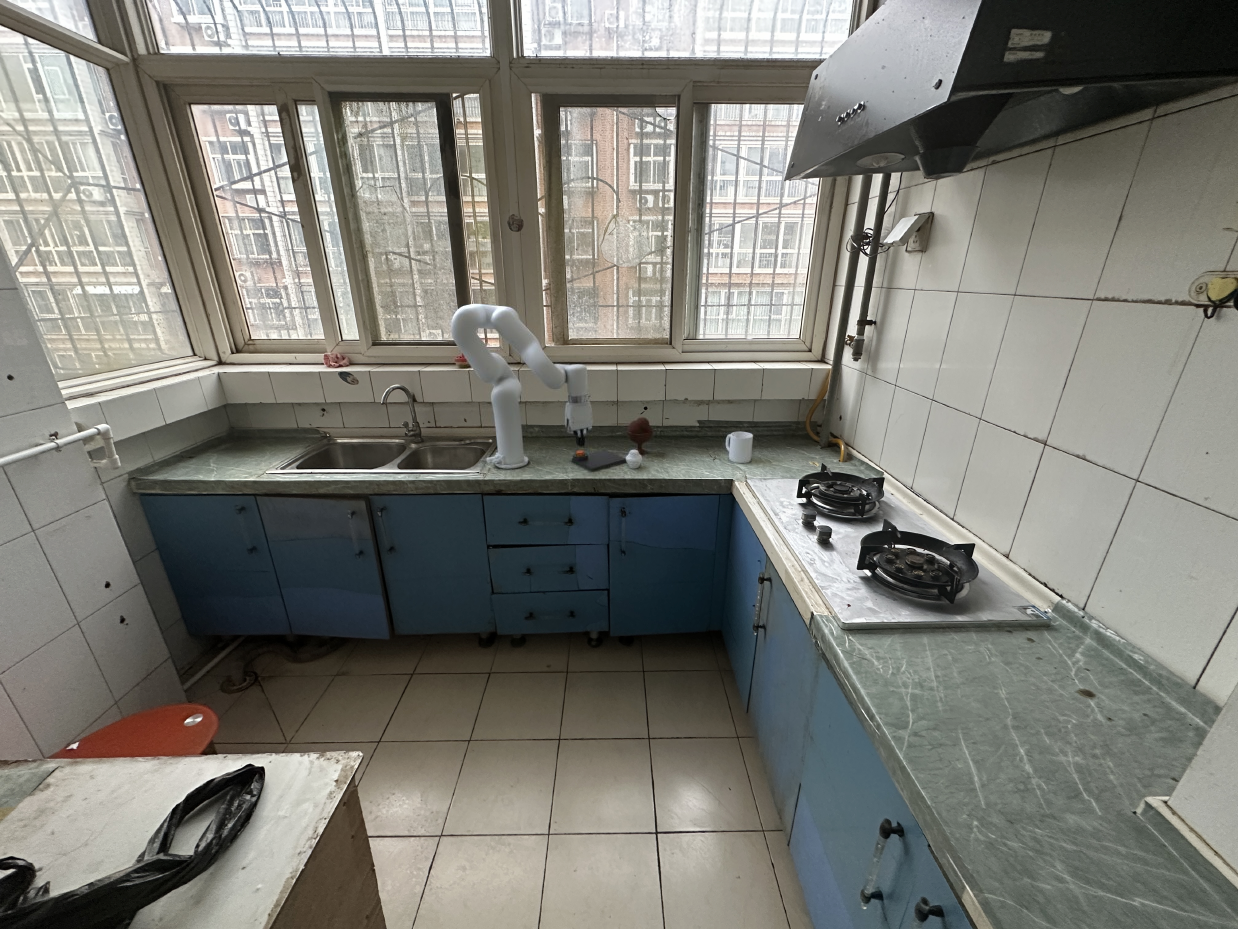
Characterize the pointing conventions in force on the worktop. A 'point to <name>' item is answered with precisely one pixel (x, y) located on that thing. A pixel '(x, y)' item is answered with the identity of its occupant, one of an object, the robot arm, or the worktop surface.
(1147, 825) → the worktop surface
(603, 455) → the scale
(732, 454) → the cup
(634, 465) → the muffin
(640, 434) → the ice cream bowl
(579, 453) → the button
